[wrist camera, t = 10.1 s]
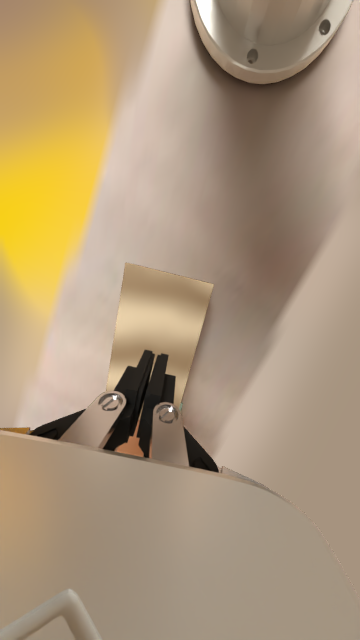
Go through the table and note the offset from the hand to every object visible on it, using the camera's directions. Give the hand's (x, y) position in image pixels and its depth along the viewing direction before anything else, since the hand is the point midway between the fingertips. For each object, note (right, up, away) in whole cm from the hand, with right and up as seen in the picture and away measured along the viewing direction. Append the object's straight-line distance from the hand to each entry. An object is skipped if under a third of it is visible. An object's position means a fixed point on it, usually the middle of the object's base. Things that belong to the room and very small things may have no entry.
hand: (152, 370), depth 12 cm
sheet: (-1, +1, +9) cm, 9 cm away
